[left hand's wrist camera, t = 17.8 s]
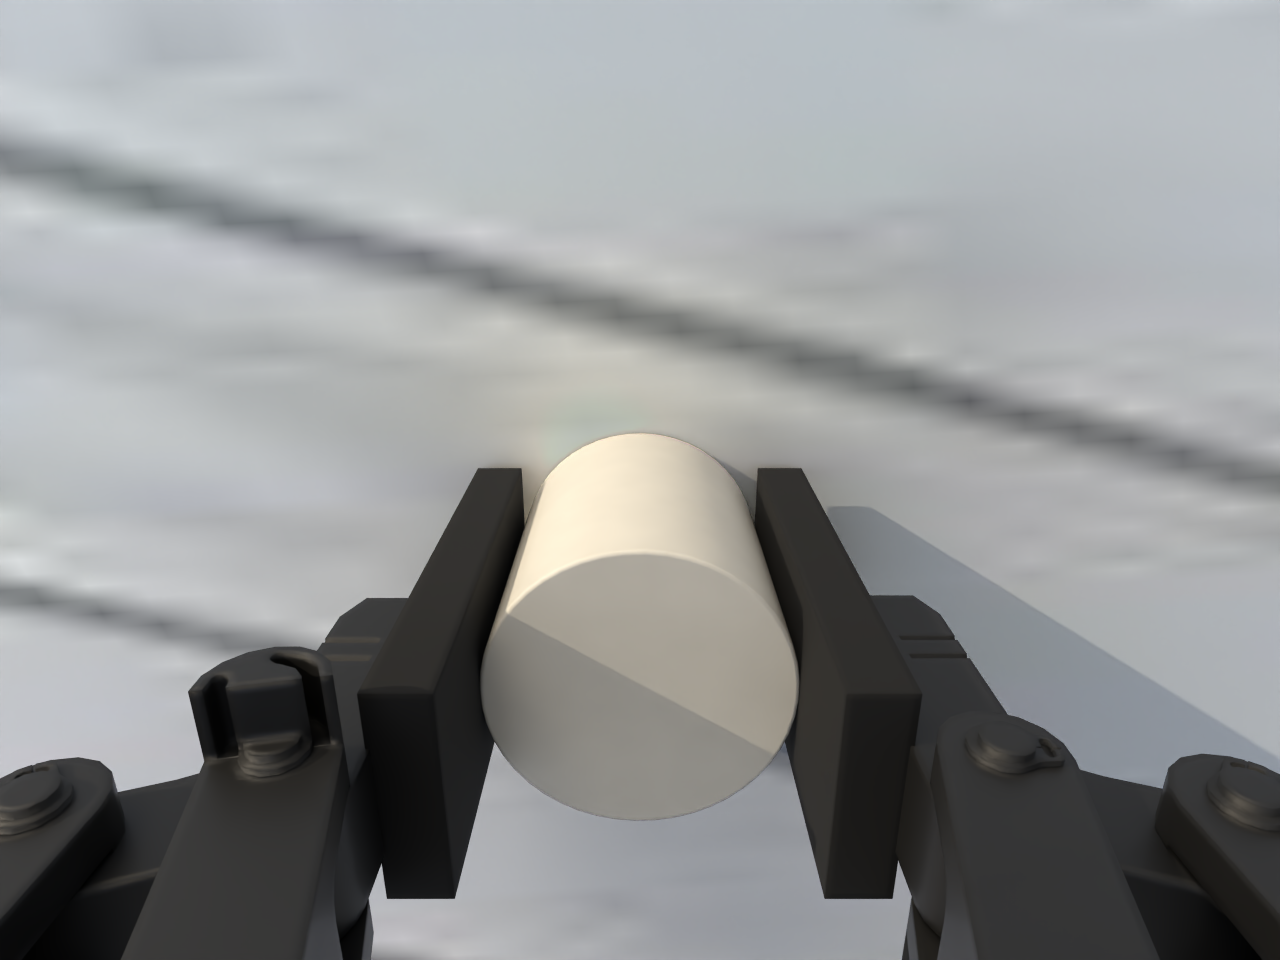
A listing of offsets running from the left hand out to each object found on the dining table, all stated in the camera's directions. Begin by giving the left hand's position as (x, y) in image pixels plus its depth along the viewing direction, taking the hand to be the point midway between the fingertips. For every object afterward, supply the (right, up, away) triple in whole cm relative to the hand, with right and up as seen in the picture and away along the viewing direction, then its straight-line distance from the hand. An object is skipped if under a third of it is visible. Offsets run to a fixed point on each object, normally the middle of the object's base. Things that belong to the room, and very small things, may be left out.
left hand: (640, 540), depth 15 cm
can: (0, 0, 0) cm, 0 cm away
